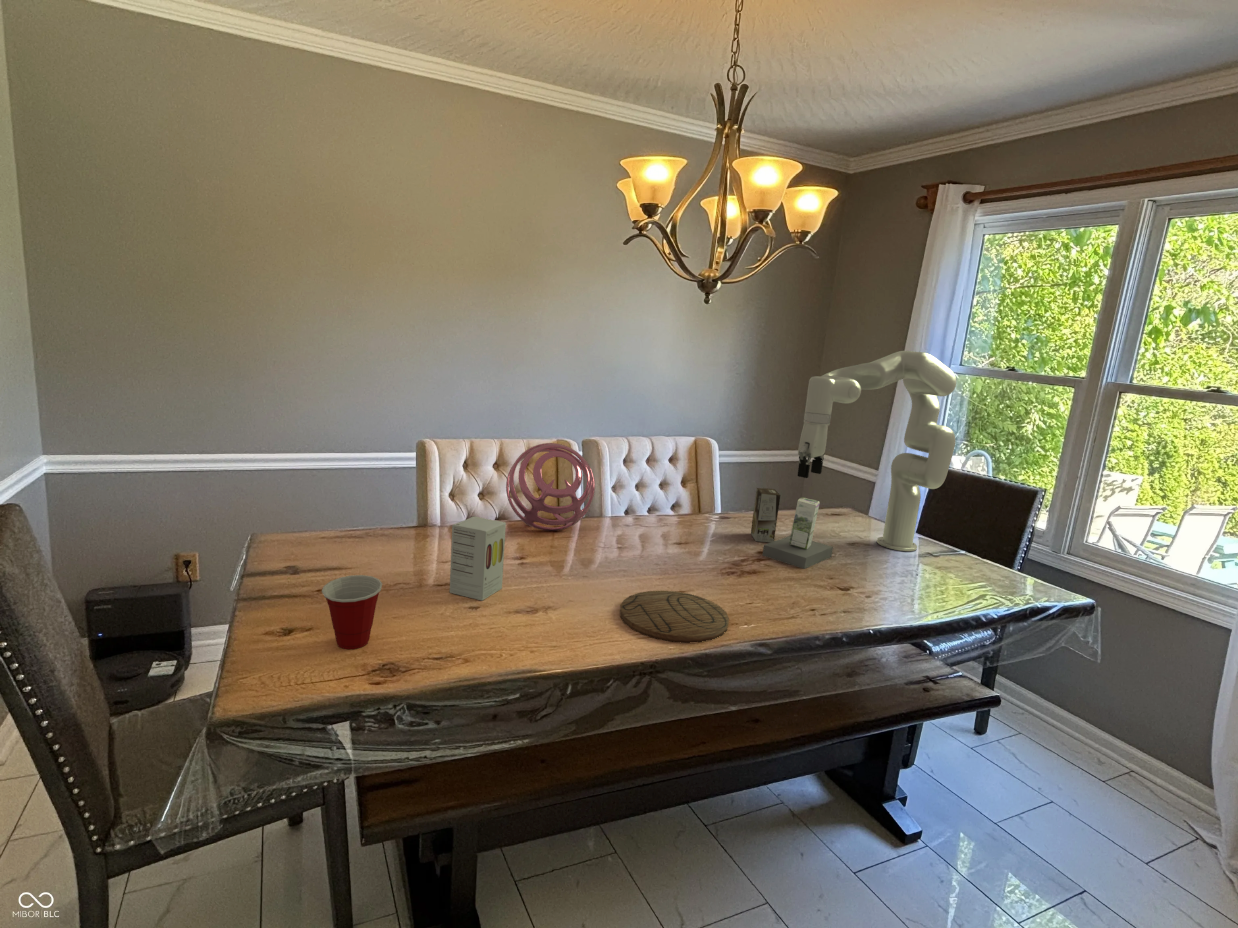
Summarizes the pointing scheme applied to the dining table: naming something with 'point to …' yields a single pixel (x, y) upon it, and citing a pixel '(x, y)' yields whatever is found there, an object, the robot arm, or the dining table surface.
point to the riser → (797, 553)
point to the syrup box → (804, 523)
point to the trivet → (674, 616)
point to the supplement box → (477, 557)
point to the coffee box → (765, 514)
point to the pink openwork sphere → (547, 489)
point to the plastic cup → (352, 608)
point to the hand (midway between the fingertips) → (809, 475)
